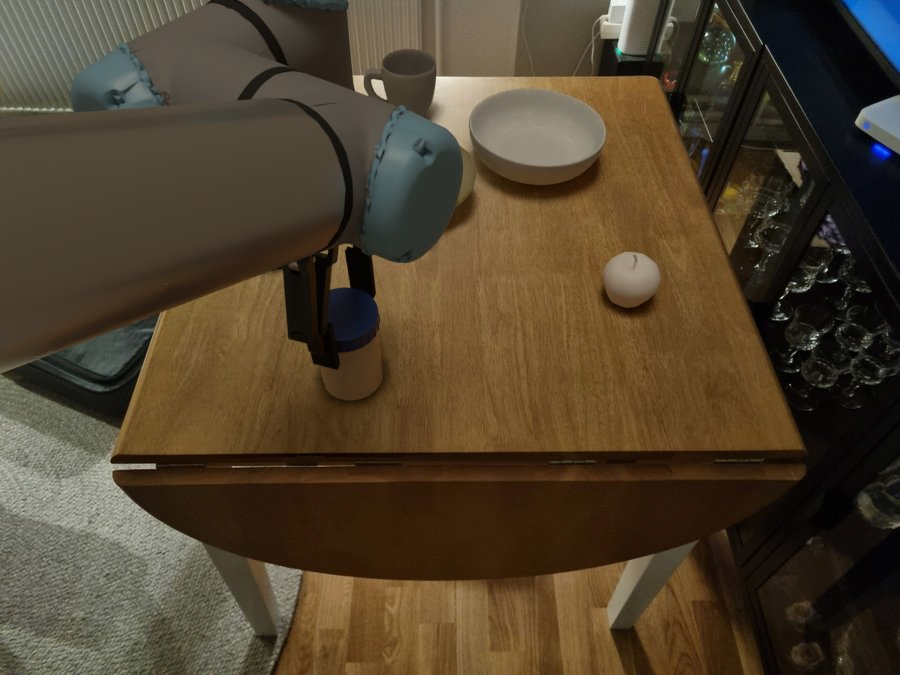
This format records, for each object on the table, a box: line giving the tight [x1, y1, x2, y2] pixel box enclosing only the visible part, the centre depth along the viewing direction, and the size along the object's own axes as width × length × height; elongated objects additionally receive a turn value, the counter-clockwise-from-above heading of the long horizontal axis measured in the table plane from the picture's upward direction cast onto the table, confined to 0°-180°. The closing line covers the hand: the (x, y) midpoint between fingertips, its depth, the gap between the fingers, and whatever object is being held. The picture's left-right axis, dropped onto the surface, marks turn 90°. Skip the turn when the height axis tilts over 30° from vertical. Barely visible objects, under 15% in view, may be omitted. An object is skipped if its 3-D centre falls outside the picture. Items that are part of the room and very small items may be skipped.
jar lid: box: [327, 286, 381, 353], centre depth 68 cm, size 8×8×2 cm
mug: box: [363, 48, 437, 119], centre depth 107 cm, size 12×9×10 cm
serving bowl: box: [468, 87, 608, 186], centre depth 101 cm, size 21×21×7 cm
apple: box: [602, 251, 661, 309], centre depth 82 cm, size 7×7×8 cm
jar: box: [319, 331, 384, 401], centre depth 72 cm, size 7×7×11 cm
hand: (346, 327), depth 70 cm, fingers open, 10 cm apart
